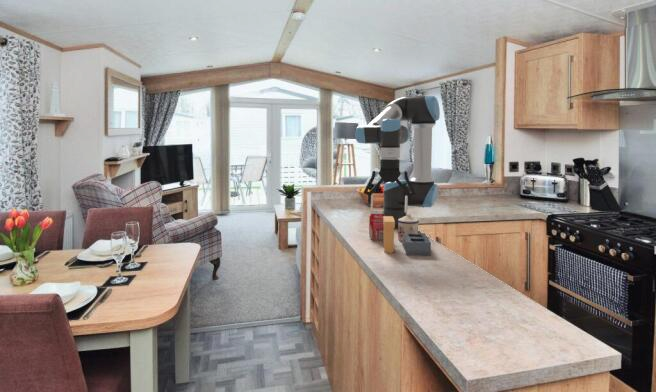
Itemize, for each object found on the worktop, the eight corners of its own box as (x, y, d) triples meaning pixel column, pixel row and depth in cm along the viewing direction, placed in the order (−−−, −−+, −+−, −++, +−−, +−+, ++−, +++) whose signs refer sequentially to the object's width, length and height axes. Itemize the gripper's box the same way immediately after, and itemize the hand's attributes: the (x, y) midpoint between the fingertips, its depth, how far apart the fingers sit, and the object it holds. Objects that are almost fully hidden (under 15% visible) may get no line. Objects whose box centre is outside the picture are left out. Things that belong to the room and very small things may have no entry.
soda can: (374, 236, 201) (375, 210, 200) (387, 238, 197) (388, 212, 195) (365, 239, 196) (366, 212, 194) (379, 241, 192) (379, 214, 190)
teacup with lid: (394, 238, 198) (395, 212, 197) (413, 237, 200) (414, 211, 199) (404, 244, 187) (405, 217, 185) (424, 243, 188) (425, 216, 187)
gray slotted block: (406, 255, 169) (406, 242, 169) (402, 244, 186) (402, 232, 186) (430, 255, 169) (430, 242, 168) (424, 244, 186) (424, 233, 185)
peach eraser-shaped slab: (383, 252, 173) (384, 221, 171) (382, 245, 184) (383, 216, 183) (394, 253, 172) (394, 221, 171) (392, 245, 184) (392, 216, 182)
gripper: (358, 158, 171) (357, 212, 173) (423, 159, 169) (421, 214, 171) (358, 158, 178) (357, 210, 181) (420, 158, 176) (419, 211, 179)
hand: (388, 212), depth 176 cm, fingers open, 13 cm apart
